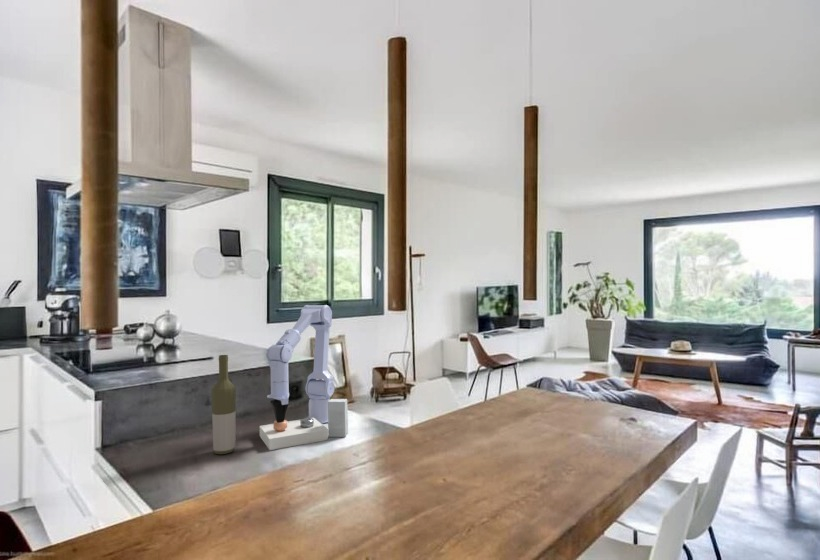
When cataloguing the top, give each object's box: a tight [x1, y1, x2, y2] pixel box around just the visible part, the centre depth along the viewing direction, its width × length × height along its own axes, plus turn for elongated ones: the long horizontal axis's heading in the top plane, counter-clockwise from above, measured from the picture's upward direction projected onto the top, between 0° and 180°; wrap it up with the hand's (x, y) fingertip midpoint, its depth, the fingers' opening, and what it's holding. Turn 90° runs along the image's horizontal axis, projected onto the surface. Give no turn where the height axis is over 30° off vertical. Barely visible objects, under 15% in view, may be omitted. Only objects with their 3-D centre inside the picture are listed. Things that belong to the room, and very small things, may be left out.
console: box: [259, 417, 329, 451], centre depth 156 cm, size 16×19×4 cm
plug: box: [299, 417, 314, 428], centre depth 157 cm, size 4×4×5 cm
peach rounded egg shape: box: [272, 419, 288, 432], centre depth 153 cm, size 4×4×5 cm
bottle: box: [211, 354, 237, 455], centre depth 144 cm, size 7×7×30 cm
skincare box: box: [327, 398, 349, 438], centre depth 158 cm, size 6×4×12 cm
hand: (280, 421), depth 153 cm, fingers closed, pressing on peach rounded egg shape
